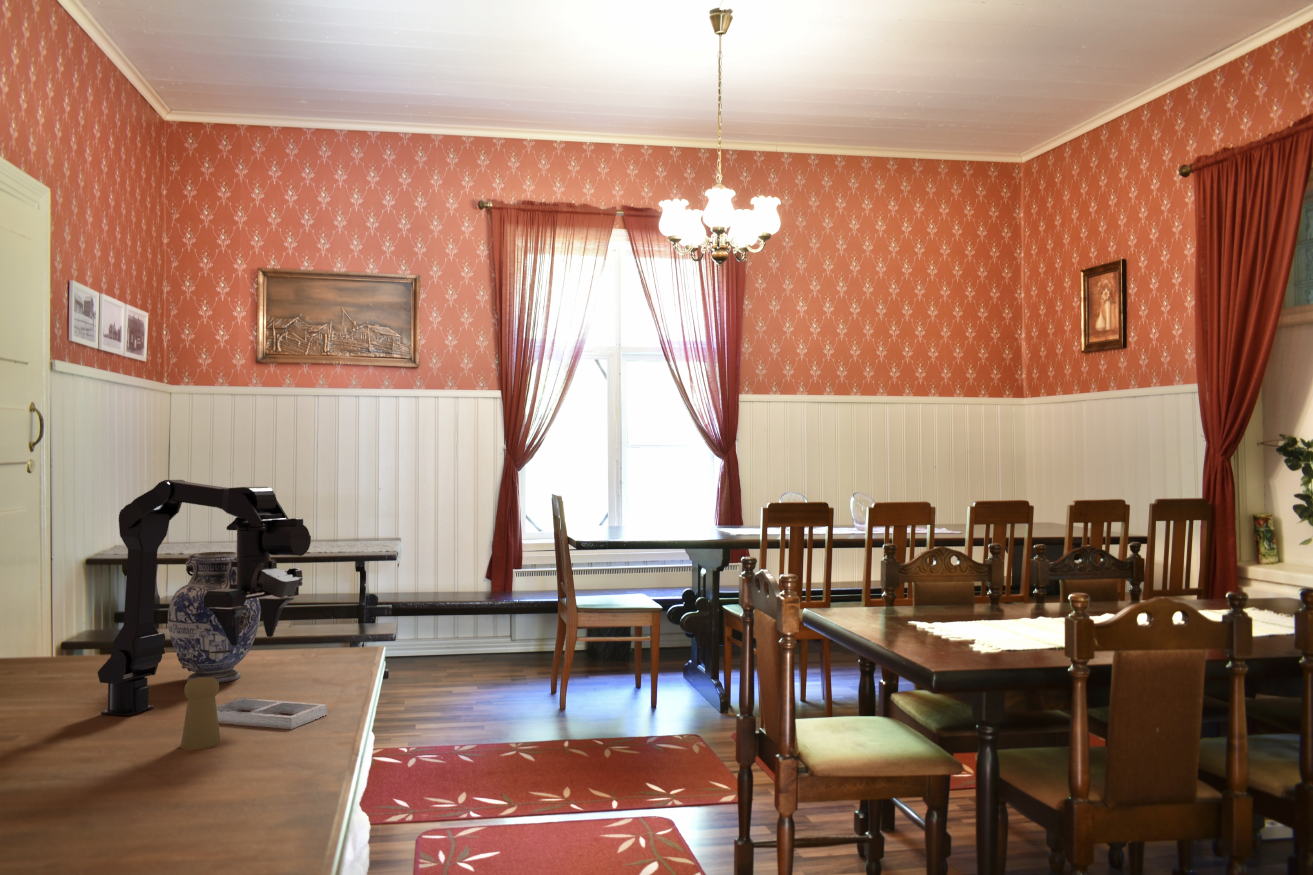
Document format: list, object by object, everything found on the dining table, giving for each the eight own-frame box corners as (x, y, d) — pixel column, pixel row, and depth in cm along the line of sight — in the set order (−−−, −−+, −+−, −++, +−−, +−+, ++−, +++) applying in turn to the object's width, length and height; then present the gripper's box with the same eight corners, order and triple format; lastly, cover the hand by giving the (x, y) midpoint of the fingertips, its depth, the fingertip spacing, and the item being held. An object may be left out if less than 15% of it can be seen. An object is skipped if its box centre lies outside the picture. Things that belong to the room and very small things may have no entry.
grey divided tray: (203, 721, 169) (203, 710, 169) (242, 708, 179) (242, 697, 179) (291, 729, 164) (291, 717, 164) (326, 714, 173) (326, 704, 174)
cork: (204, 750, 151) (205, 682, 152) (172, 748, 152) (173, 681, 153) (228, 740, 157) (229, 674, 158) (197, 738, 158) (198, 673, 159)
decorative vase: (144, 681, 203) (149, 552, 204) (222, 667, 218) (226, 548, 220) (202, 693, 191) (206, 557, 193) (280, 678, 207) (284, 552, 209)
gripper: (254, 560, 159) (253, 652, 158) (323, 551, 177) (322, 634, 176) (201, 559, 162) (200, 649, 161) (274, 550, 180) (273, 631, 179)
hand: (252, 640), depth 169 cm, fingers open, 9 cm apart
